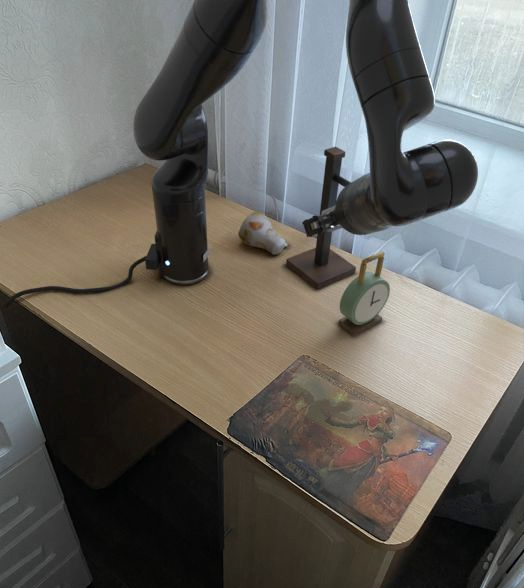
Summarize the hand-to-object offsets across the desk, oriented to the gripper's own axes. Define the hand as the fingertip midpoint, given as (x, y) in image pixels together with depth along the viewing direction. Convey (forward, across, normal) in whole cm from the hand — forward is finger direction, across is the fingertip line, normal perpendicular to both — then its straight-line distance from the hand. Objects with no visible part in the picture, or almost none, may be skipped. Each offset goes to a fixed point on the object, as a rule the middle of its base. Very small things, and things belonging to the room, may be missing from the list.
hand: (338, 217), depth 87 cm
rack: (+18, 0, +10) cm, 21 cm away
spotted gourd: (+28, +9, 0) cm, 30 cm away
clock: (+6, +1, +19) cm, 20 cm away
